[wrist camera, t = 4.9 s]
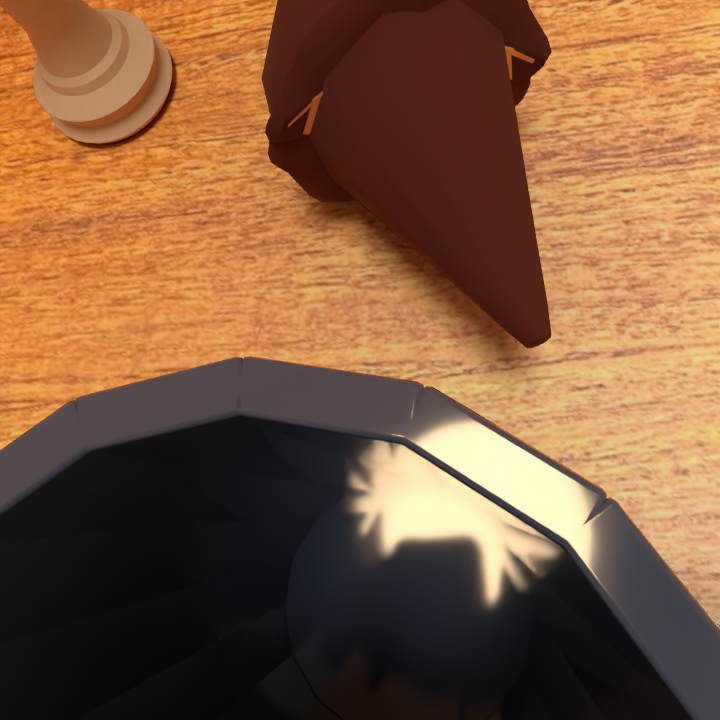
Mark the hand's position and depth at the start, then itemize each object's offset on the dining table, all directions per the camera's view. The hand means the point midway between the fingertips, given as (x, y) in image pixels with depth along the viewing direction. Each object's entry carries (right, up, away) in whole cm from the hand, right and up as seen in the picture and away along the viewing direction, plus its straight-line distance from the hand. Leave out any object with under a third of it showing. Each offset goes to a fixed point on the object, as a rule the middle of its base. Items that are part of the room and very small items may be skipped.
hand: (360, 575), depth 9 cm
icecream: (+2, +9, +9) cm, 13 cm away
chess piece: (-9, +13, +12) cm, 19 cm away
